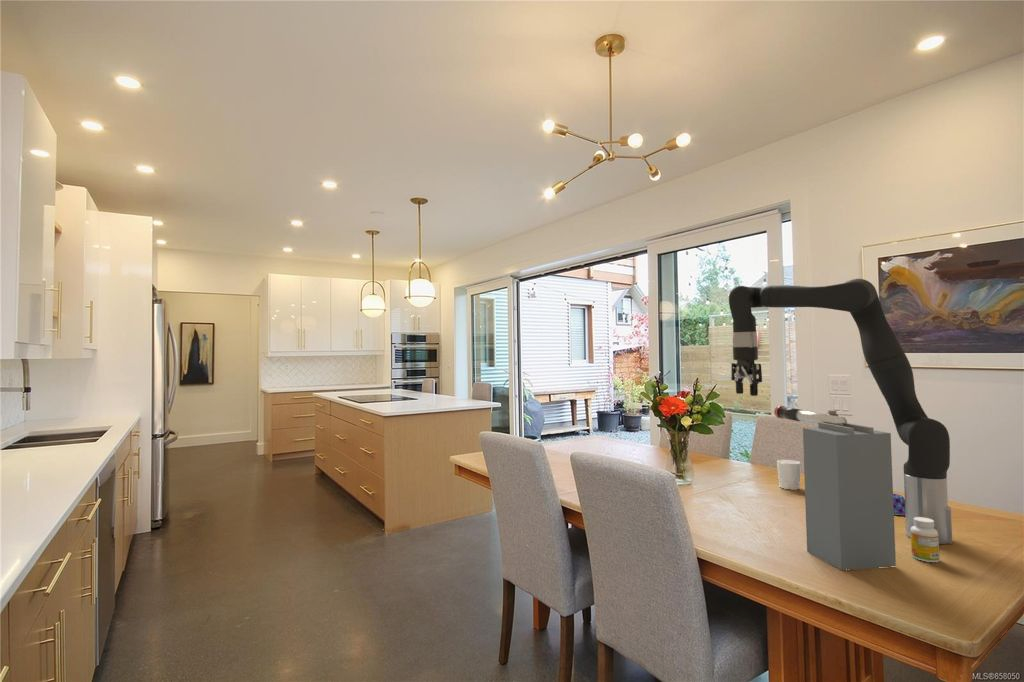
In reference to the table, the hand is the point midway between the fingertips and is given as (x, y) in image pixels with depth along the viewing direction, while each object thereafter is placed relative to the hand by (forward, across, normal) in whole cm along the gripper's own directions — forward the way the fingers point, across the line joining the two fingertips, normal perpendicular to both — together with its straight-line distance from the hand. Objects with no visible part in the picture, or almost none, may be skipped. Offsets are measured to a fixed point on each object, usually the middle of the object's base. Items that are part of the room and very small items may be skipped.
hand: (746, 394), depth 167 cm
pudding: (+39, +7, +44) cm, 59 cm away
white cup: (+38, -23, +30) cm, 54 cm away
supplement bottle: (+38, +43, +20) cm, 61 cm away
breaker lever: (+6, +27, +2) cm, 28 cm away
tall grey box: (+38, +40, +2) cm, 56 cm away
